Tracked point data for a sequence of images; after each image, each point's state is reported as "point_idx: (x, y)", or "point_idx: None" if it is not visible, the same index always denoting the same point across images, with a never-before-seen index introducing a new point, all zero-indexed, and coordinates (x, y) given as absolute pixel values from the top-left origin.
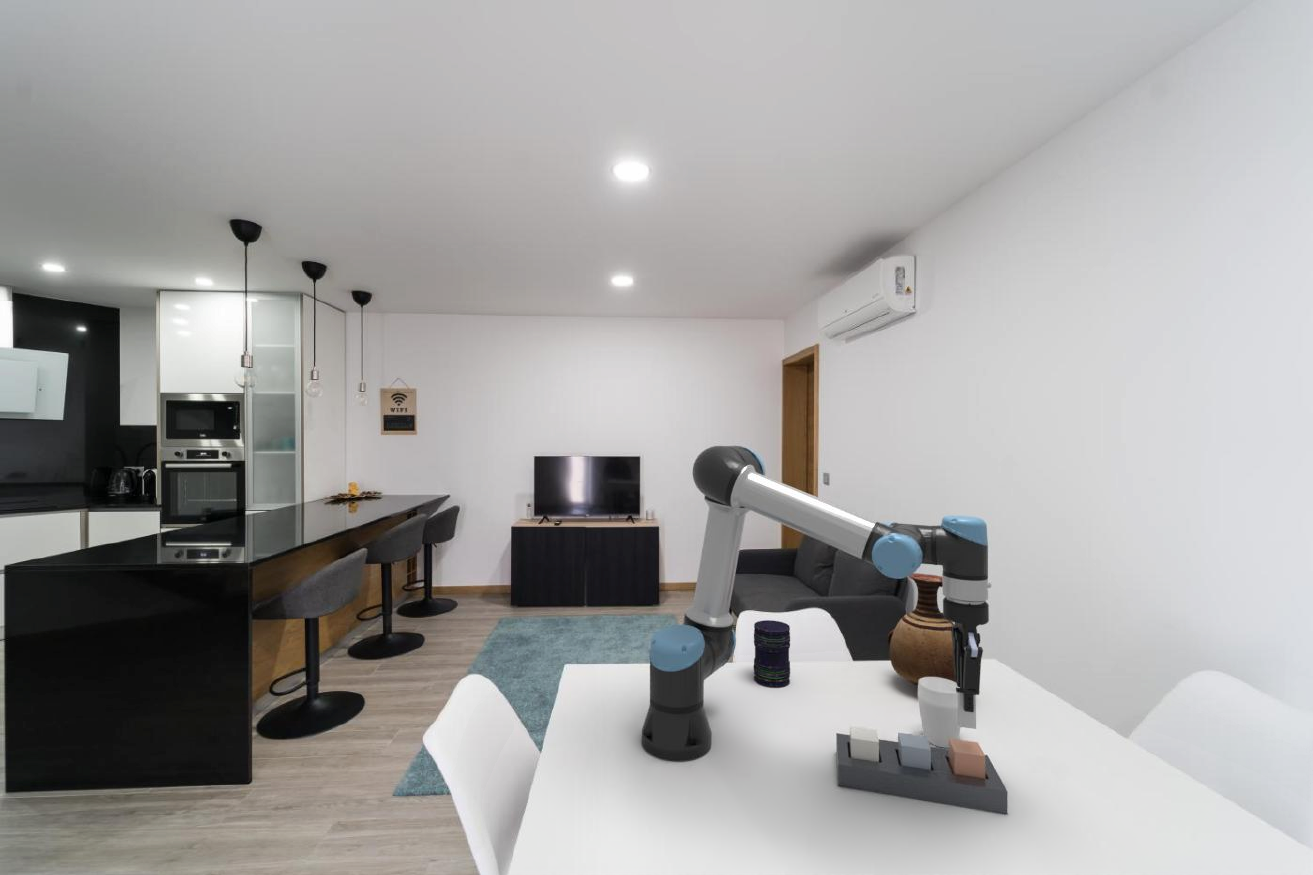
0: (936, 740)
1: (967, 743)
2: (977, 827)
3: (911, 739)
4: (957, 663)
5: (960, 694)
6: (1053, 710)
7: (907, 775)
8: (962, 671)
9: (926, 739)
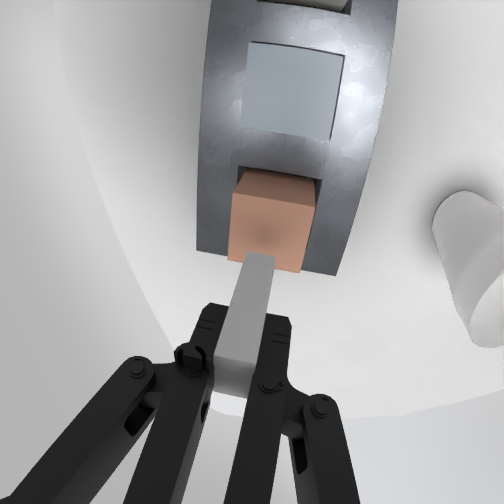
0: (445, 207)
1: (289, 246)
2: (159, 163)
3: (299, 85)
4: (245, 493)
5: (216, 346)
6: (471, 390)
7: (206, 52)
8: (141, 456)
9: (307, 136)
